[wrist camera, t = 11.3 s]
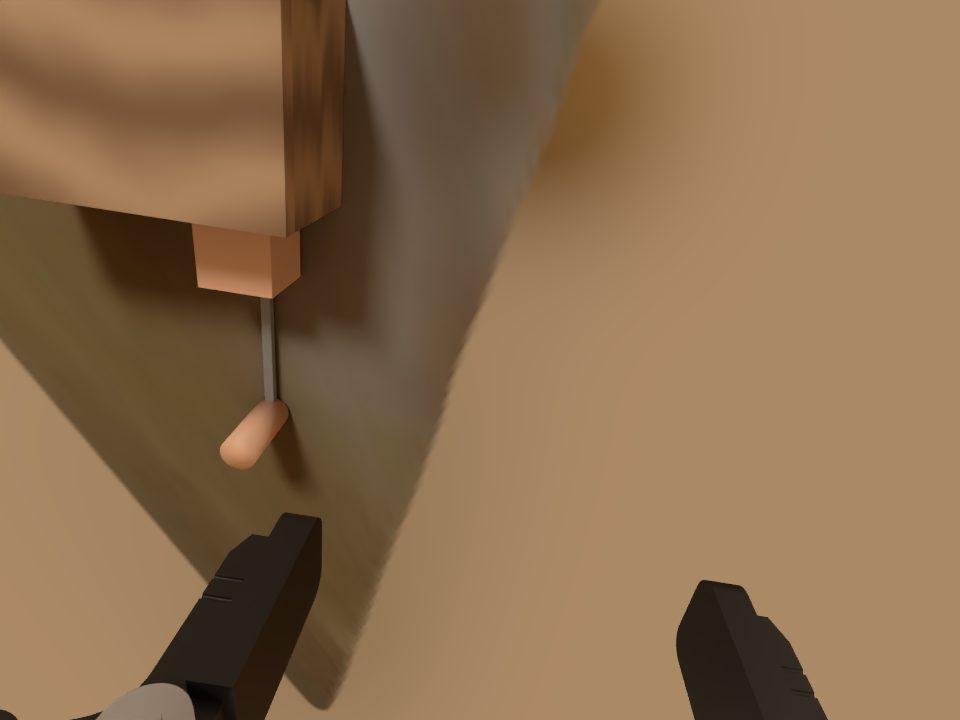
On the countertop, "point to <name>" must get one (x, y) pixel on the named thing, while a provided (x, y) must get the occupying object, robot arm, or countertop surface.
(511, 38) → the countertop surface
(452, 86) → the countertop surface
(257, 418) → the tethered block
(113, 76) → the walnut shelf
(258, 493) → the countertop surface
